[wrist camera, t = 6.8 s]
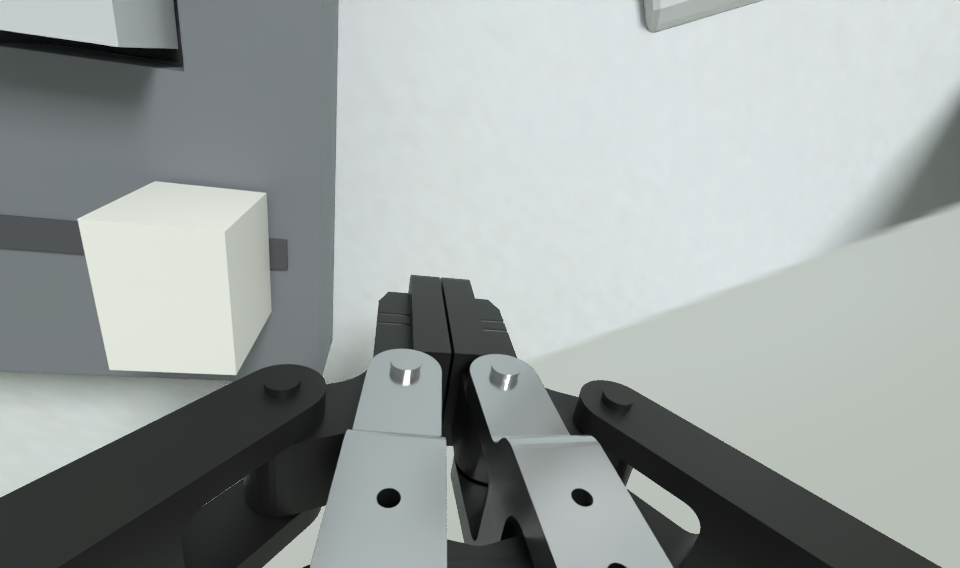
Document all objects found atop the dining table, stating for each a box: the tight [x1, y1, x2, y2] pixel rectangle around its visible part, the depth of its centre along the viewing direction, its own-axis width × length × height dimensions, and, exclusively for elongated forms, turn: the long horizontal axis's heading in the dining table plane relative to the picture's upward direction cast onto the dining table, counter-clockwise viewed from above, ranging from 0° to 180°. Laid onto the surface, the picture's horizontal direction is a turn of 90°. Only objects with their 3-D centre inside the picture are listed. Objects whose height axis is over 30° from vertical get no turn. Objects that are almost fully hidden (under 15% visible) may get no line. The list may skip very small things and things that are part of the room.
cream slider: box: [77, 181, 272, 375], centre depth 13 cm, size 3×4×4 cm
